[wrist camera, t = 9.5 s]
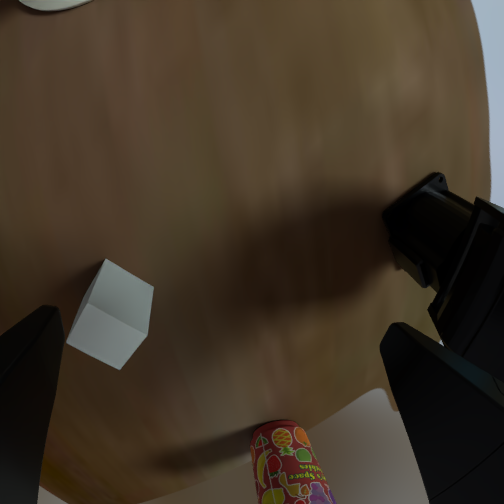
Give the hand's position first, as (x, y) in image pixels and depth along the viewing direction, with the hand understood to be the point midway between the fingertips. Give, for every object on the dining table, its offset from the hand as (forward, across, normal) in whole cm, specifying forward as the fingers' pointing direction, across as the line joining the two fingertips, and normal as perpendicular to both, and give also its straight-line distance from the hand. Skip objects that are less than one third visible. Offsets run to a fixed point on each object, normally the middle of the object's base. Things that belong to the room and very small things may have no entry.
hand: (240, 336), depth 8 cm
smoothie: (+13, -11, +28) cm, 33 cm away
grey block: (+13, +6, +9) cm, 17 cm away
